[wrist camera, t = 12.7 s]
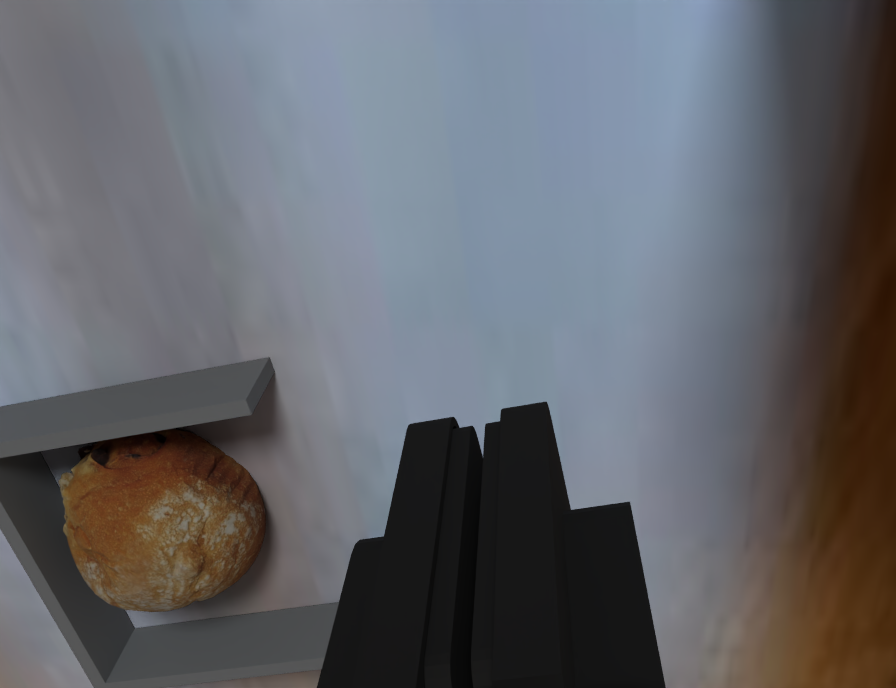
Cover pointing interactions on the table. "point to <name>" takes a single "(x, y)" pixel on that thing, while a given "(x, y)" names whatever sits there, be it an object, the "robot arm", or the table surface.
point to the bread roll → (160, 519)
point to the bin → (61, 584)
